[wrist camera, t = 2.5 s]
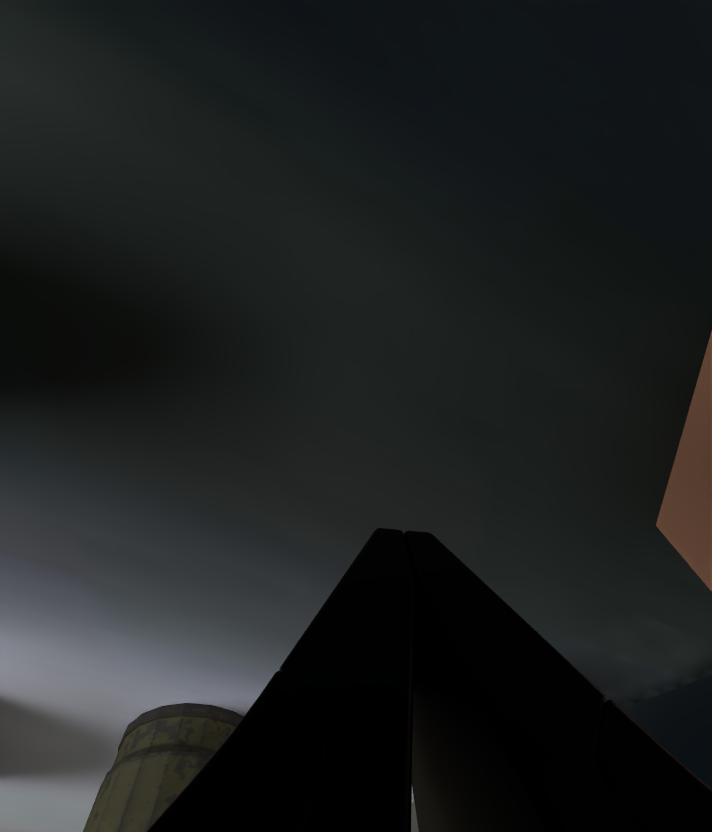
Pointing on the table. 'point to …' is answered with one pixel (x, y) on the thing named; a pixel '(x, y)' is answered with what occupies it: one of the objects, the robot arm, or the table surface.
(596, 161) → the table surface
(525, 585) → the table surface
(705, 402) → the domino
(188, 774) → the thermos
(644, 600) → the table surface
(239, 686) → the table surface
